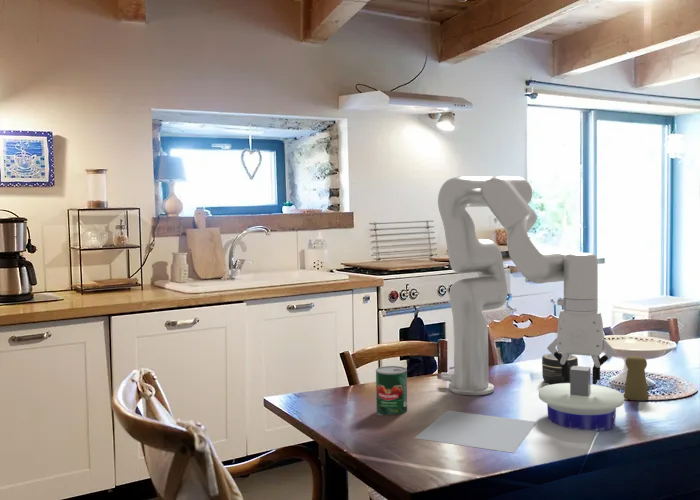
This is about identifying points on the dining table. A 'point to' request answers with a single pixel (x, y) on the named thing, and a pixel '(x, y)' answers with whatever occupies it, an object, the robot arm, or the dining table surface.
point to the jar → (555, 368)
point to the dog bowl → (582, 418)
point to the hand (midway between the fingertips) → (580, 380)
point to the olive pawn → (636, 378)
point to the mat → (478, 431)
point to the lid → (581, 393)
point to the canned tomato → (391, 390)
